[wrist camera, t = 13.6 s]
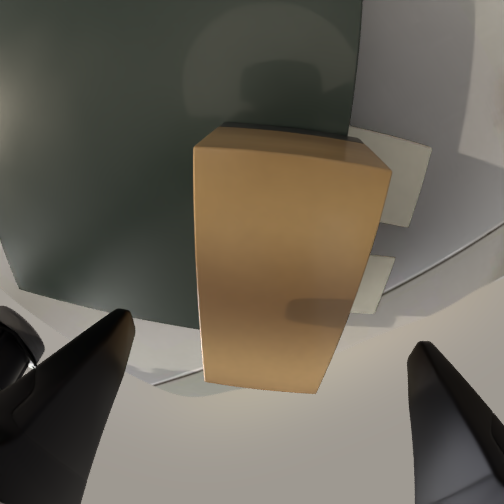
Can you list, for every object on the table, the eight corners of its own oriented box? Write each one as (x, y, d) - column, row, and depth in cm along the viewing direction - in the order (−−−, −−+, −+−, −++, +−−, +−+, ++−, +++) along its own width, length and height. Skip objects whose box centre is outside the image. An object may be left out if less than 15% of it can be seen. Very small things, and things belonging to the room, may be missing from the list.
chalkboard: (301, 323, 17) (302, 342, 16) (29, 277, 18) (19, 289, 17) (356, -56, 6) (364, -69, 5) (-7, 7, 7) (-24, 8, 6)
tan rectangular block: (313, 330, 16) (316, 394, 12) (219, 320, 16) (204, 382, 13) (359, 138, 10) (393, 170, 7) (223, 121, 10) (192, 146, 7)
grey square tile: (405, 224, 13) (408, 228, 13) (328, 210, 14) (329, 214, 13) (428, 146, 11) (432, 148, 11) (346, 124, 11) (347, 126, 11)
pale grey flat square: (373, 309, 17) (374, 314, 17) (308, 304, 17) (308, 309, 17) (393, 253, 15) (395, 257, 14) (320, 245, 15) (321, 250, 15)
